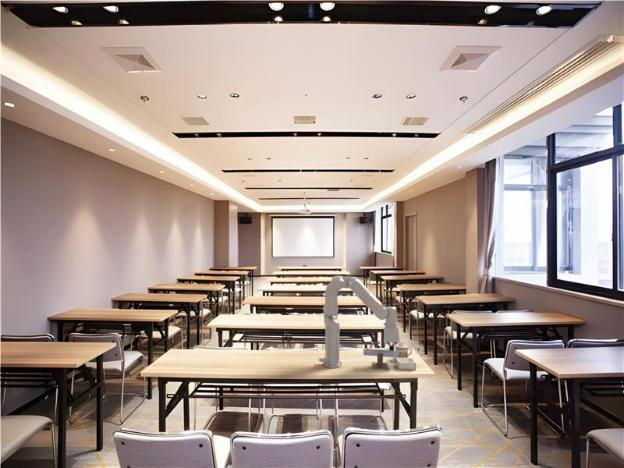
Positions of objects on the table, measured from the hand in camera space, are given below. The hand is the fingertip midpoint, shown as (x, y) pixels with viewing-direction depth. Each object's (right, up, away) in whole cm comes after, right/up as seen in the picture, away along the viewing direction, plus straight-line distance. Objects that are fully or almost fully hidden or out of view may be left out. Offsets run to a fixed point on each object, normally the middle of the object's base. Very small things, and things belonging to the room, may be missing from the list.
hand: (391, 351), depth 249 cm
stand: (-9, -8, -5) cm, 13 cm away
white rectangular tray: (+8, -8, -7) cm, 13 cm away
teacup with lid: (+11, -8, +9) cm, 16 cm away
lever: (-9, -1, -2) cm, 9 cm away
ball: (-17, +2, -4) cm, 18 cm away
